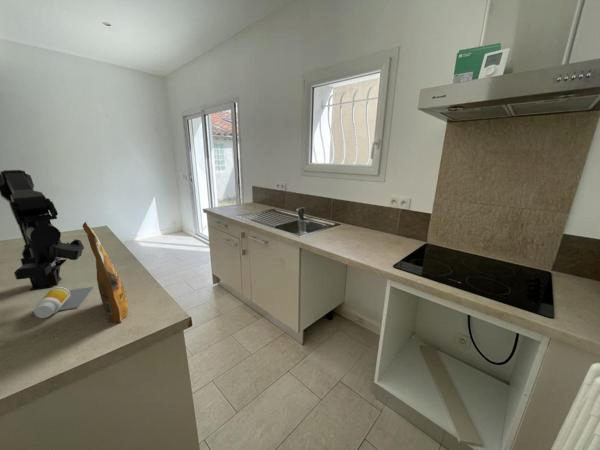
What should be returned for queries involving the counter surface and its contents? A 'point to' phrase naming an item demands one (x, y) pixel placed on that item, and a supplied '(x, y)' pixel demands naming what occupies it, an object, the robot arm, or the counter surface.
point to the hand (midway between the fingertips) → (55, 285)
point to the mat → (74, 299)
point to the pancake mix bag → (108, 281)
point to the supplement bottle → (51, 302)
